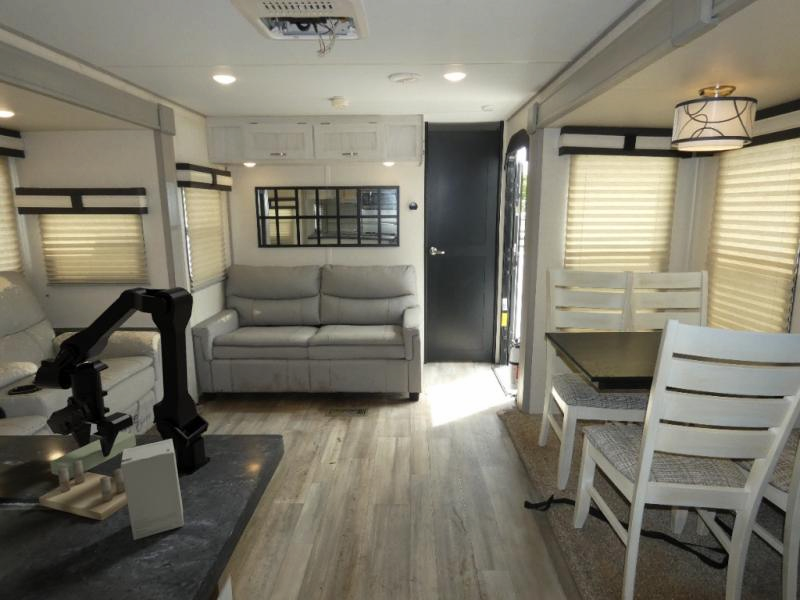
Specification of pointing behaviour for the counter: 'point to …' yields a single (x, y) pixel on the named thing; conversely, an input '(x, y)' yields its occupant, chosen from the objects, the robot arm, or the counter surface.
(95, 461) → the plank
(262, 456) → the counter surface
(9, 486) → the counter surface
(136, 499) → the skincare box
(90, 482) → the peg stand
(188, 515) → the counter surface
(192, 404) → the robot arm
